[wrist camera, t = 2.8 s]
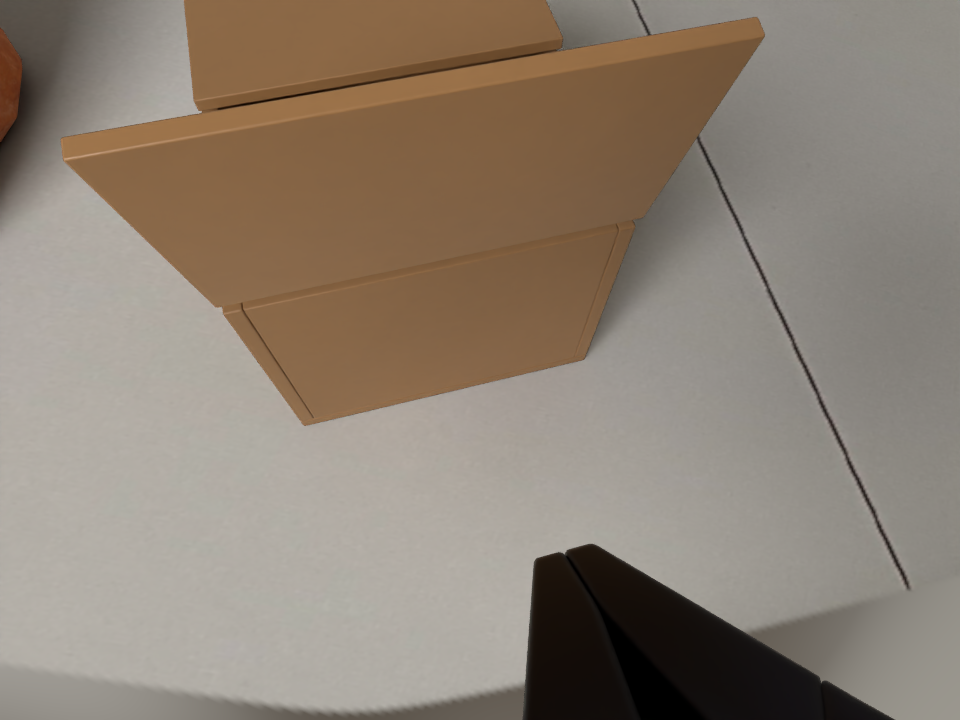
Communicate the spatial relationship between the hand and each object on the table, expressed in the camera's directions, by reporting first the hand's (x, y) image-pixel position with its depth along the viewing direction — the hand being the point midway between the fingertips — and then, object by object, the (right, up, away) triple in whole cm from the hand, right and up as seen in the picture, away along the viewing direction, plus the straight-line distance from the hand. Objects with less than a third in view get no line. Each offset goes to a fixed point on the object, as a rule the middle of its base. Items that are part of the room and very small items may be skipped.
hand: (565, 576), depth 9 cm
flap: (-2, +7, +4) cm, 8 cm away
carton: (-4, +7, +18) cm, 20 cm away
